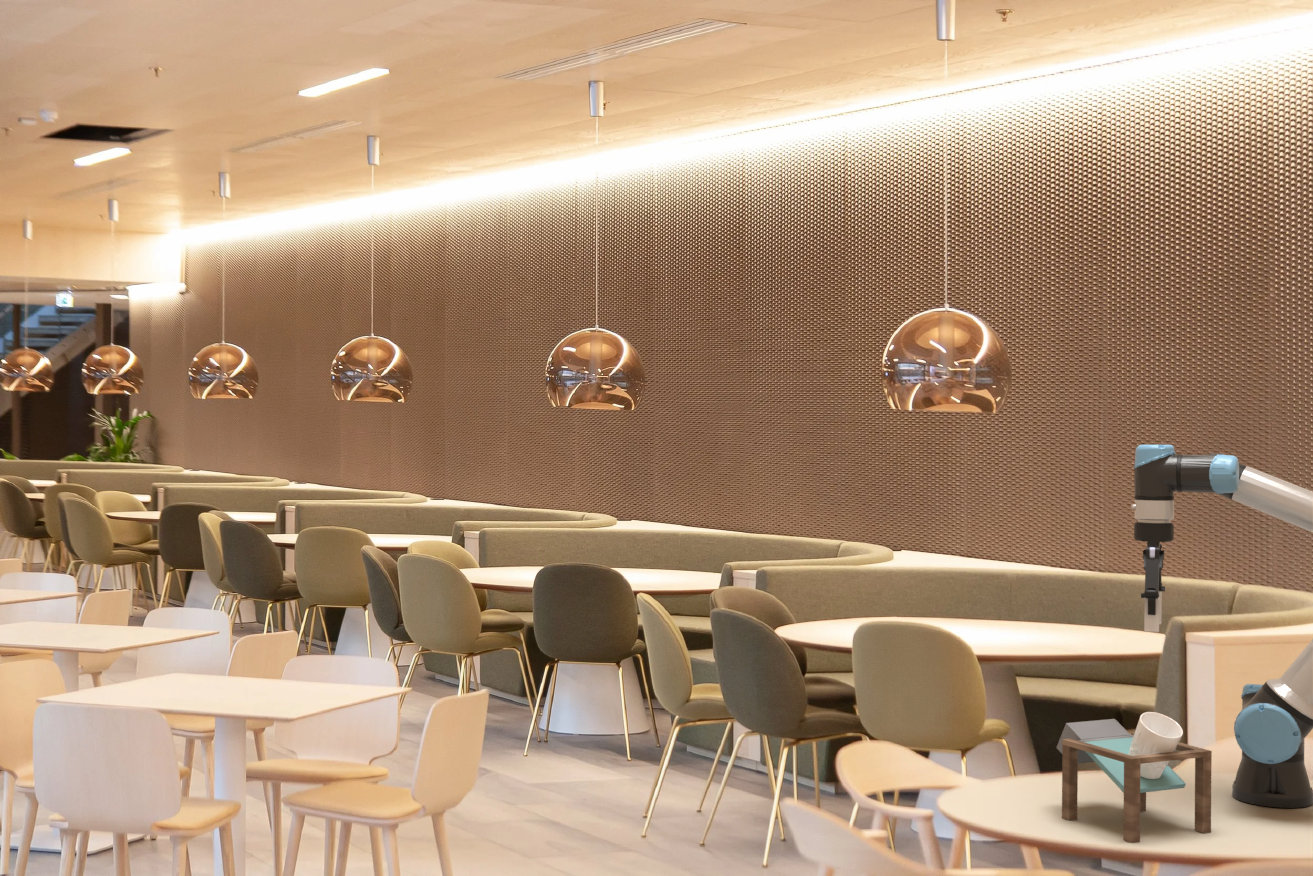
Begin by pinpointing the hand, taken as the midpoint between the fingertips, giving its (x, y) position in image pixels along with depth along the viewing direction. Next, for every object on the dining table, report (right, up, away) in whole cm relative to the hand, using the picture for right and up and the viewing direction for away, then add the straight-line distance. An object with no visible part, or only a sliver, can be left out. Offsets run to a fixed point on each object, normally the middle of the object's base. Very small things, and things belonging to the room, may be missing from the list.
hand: (1153, 627), depth 294 cm
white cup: (-8, -24, -19) cm, 32 cm away
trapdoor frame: (-10, -35, -18) cm, 40 cm away
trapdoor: (-12, -27, -13) cm, 32 cm away
